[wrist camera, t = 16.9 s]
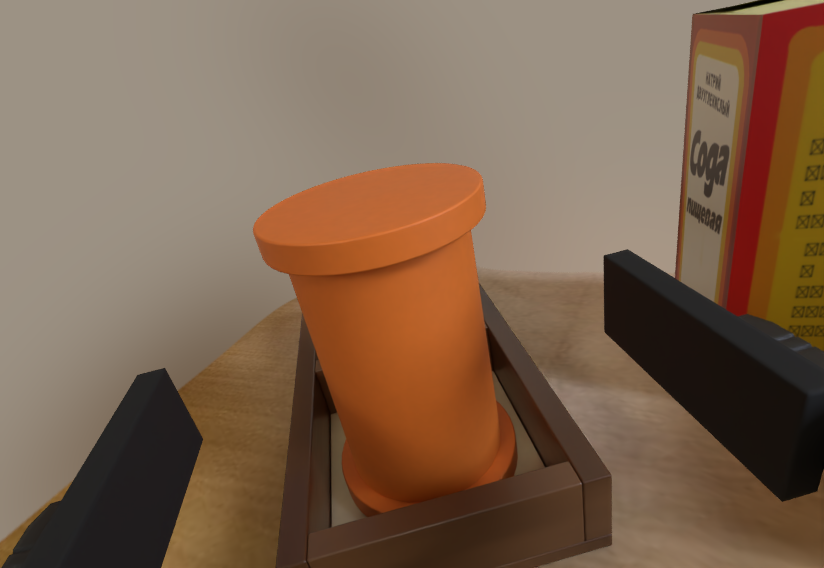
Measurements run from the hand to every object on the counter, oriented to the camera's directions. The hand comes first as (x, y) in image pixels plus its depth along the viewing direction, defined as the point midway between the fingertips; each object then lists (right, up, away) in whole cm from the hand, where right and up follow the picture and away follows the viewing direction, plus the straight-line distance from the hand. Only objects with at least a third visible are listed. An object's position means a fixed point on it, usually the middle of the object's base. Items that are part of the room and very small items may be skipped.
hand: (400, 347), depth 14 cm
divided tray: (0, -4, +12) cm, 12 cm away
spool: (+1, -6, +7) cm, 9 cm away
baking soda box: (+18, -1, +10) cm, 21 cm away
